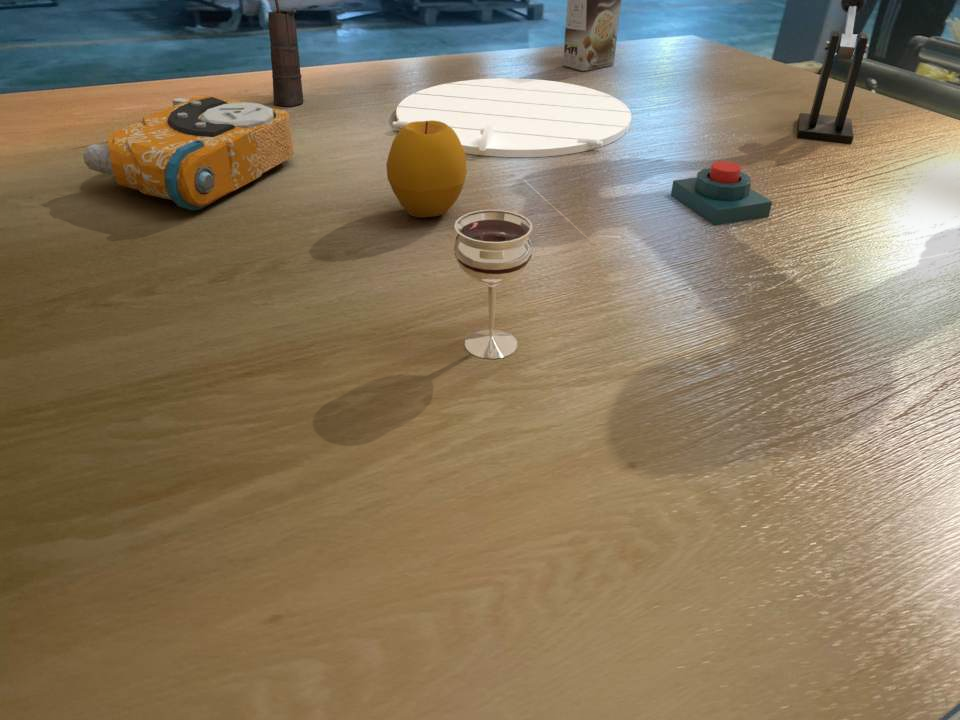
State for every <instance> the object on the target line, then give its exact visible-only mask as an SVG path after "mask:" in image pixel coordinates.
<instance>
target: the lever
mask: <svg viewBox="0 0 960 720" xmlns="http://www.w3.org/2000/svg"><path fill="white" fill-rule="evenodd" d="M866 3H867V0H840V7H841V10H842V11H843V12H844V13H846V20H845V26H844V32H841V34H840V36H839V40H838V44H837V48H836V53H835V59H836V60H847V61H852V58H853V55H854V51H855V48H856V44H857V40H858V34H855V33H854V27H855V21H856V14H858V12H861V11H862V9H863V8H864V7H865V5H866Z"/></svg>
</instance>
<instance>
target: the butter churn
mask: <svg viewBox="0 0 960 720" xmlns="http://www.w3.org/2000/svg"><path fill="white" fill-rule="evenodd" d="M274 4H275V8H276V10H272V11H268V12H267V14H268V34H269V41H270V46H269V49H270V61H271V75H272V76H271V77H272V95H273V104H274V105H277V106H284V107H291V106H298V105H302V104H303V103H304V101H305V100H304V93H303V83H302V77H303V75H302V73H301V66H300V65H301V64H300V62H301V61H300V53H299V52H300V51H299V43H298V33H297V31H298V30H297V26H296V20H295V15H296V14H297V10H295V9H294V10H291V11H290V10H286V9H285V10H284V9H281V8H280V7H281V6H280V3H279V0H274Z"/></svg>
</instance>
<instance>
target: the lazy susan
mask: <svg viewBox="0 0 960 720" xmlns="http://www.w3.org/2000/svg"><path fill="white" fill-rule="evenodd" d="M395 117H396V121H393V122H392V127H393V128H398V129H400V130H401V129H402V128H403V127H404V126H406V125H407V124H409V123H411V122H417V121H431V120H433V121H440V122H442V123H445V124H446V125H448V126H449V127H451V128H452V129H453V130H454V132H455V133H456V135H457V136H458V138H459V140H460V143H461V145H462V147H463V149H464V151H465V154H467V155H475V156H483V157H484V156H485V157H497V158H545V157H547V158H548V157H557V156H565V155H572V154H577V153H582V152H583V153H584V152H588V151H591V150H595V149H599V148H603V147H604V146H608V145H609V144H612V143H614V142H616V141H618V140H620V139H621V138H622V137H623V136H624V135H625V134H627V133H628V131H629V130H630V128H631V124H632V112H631V110H630V108H629V107H628V106H627V105H626V104H625V103H624V102H623V101H621V100H620V99H618V98H616V97H614V96H612V95H610V94H608V93H605V92H603V91H600V90H597V89H594V88H590V87H586V86H583V85H579V84H573V83H568V82H562V81H554V80H545V79H538V78H537V79H535V78H519V77H517V78H516V77H515V78H513V77H511V78H509V77H507V78H506V77H505V78H503V77H500V78H499V77H498V78H495V77H494V78H481V79H480V78H477V79H468V80H460V81H453V82H448V83H442V84H438V85H434V86H430V87H427V88H424V89H421V90H418V91H416V92H414V93H412V94H409V95H408V96H407V97H405V98H403V99H402V100H401V101H400V102H399V104H398V105H397V106H396V110H395Z"/></svg>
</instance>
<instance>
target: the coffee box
mask: <svg viewBox="0 0 960 720" xmlns="http://www.w3.org/2000/svg"><path fill="white" fill-rule="evenodd" d="M566 3H567V5H566V17H565V29H564V43H563V53H562V55H563V56H562V66H563V67H567V68H569V69H570V68H571V69H574V70H577V71H580V72H587V71H591V70H597V69H603V68H607V67H611V66H614V65H615V59H616V50H617V42H618V41H617V40H618V32H619V23H620V14H621V6H622V0H567V2H566Z"/></svg>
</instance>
